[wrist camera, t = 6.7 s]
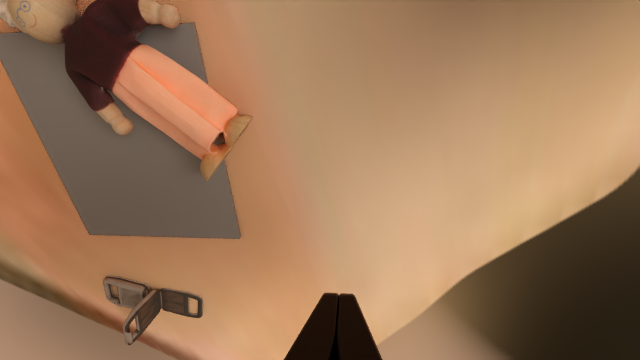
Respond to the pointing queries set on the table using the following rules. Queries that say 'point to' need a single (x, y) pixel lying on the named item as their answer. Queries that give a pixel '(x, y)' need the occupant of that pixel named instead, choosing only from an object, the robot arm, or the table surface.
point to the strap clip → (147, 303)
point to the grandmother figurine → (132, 71)
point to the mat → (121, 147)
